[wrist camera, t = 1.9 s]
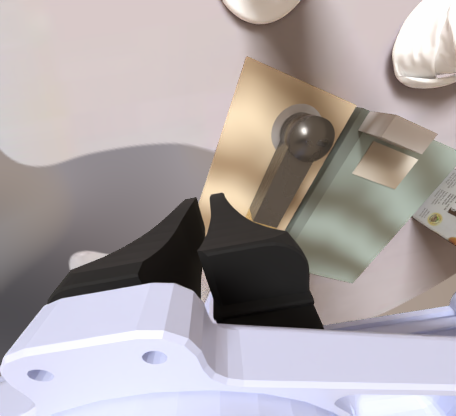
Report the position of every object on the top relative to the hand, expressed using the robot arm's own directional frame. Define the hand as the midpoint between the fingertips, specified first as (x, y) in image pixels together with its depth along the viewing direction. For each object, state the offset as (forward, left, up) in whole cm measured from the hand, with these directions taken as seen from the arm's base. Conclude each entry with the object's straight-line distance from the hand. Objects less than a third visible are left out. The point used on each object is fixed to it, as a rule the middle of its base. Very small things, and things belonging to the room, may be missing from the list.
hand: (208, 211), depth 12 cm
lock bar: (+1, -6, -8) cm, 10 cm away
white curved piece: (+15, -14, -10) cm, 22 cm away
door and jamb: (0, -11, -9) cm, 15 cm away
